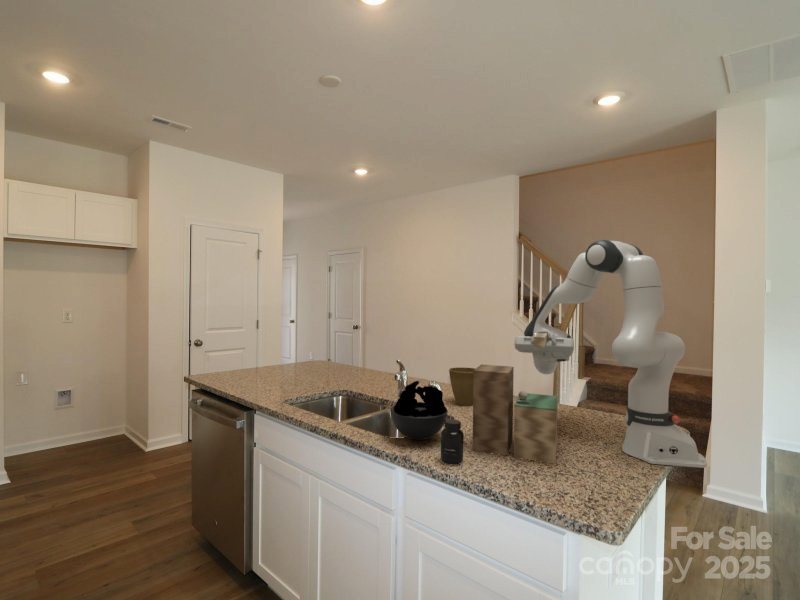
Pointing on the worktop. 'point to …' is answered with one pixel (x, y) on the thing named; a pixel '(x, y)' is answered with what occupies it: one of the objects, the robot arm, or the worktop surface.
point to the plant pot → (462, 385)
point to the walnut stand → (493, 409)
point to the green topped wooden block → (535, 427)
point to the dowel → (540, 339)
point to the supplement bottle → (452, 442)
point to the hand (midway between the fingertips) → (542, 335)
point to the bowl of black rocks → (419, 412)
